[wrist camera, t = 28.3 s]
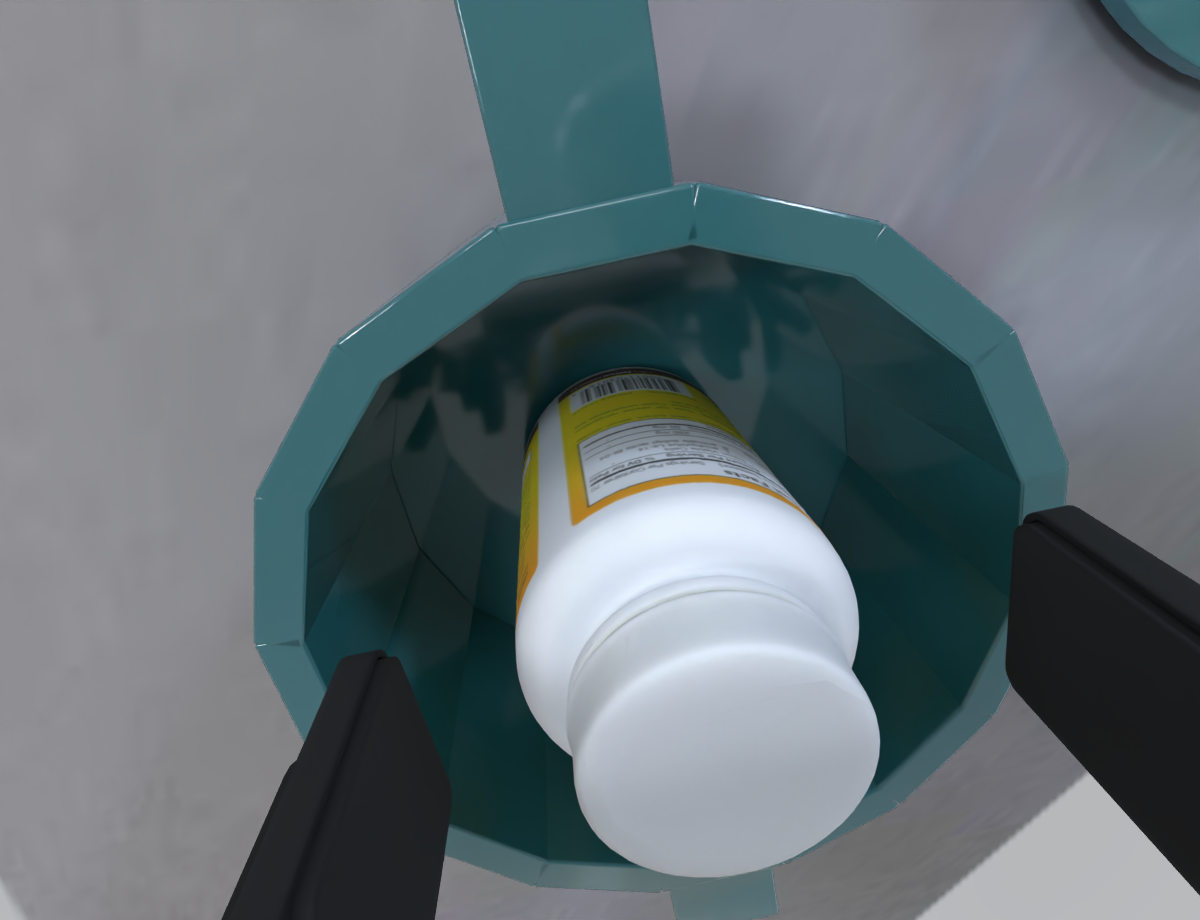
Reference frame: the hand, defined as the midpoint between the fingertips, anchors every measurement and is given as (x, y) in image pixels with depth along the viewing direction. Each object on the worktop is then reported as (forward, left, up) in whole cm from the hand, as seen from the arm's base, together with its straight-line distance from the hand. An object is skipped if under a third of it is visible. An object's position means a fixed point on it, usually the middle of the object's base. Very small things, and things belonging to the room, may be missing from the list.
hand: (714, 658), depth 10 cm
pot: (0, 0, -9) cm, 9 cm away
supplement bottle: (0, 0, -9) cm, 9 cm away
